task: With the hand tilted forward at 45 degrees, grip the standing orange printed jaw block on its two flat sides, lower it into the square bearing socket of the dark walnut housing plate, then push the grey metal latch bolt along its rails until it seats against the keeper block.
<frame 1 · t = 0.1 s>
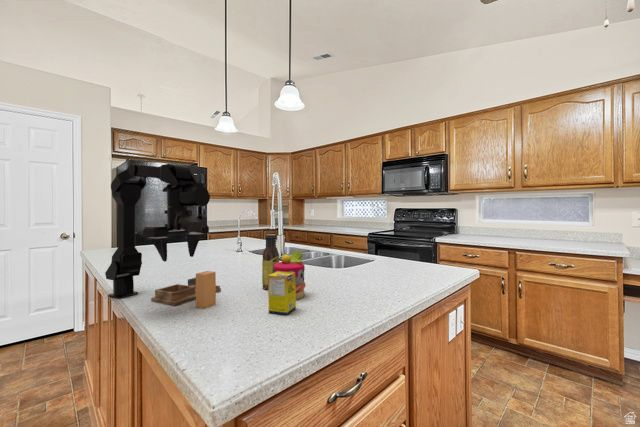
hand: (178, 258, 91), 15 cm above the worktop, tool pointing down, fingers open, 9 cm apart
housing: (175, 299, 99), on the worktop
sauce bottle: (270, 288, 112), on the worktop
latch bolt: (209, 284, 107), point 3 cm above the worktop, slide at 0.0 cm
jaw block: (206, 305, 93), on the worktop
cake: (289, 297, 102), on the worktop
supplement box: (282, 311, 87), on the worktop
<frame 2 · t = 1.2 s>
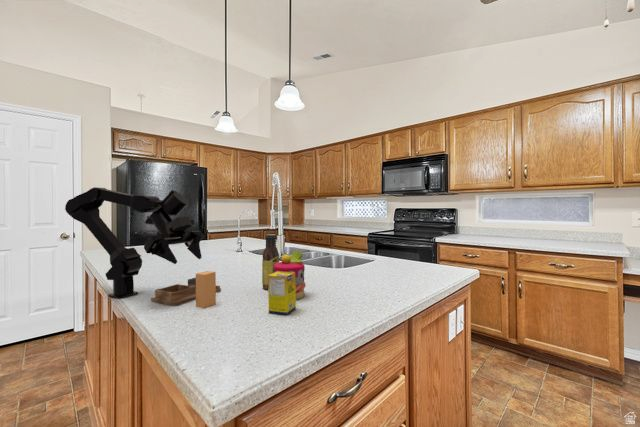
hand: (188, 260, 96), 13 cm above the worktop, tool tilted 45°, fingers open, 9 cm apart
nothing on the worktop moved.
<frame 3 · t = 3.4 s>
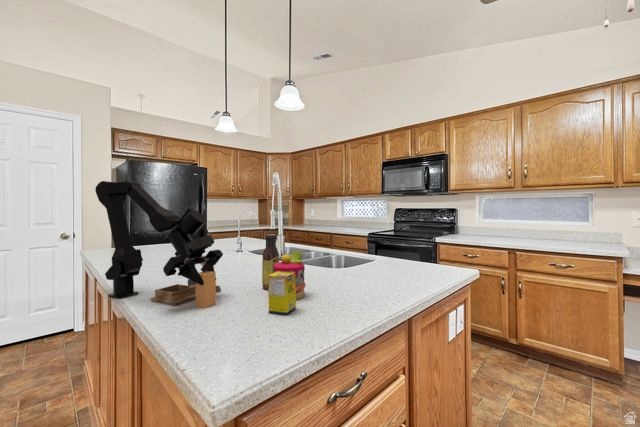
hand: (209, 282, 92), 7 cm above the worktop, tool tilted 45°, fingers closed on jaw block, 4 cm apart
jaw block: (206, 305, 93), on the worktop, touching gripper
everything else where it was.
when the fingers open (10 cm above the worktop, at t = 7.3 s): jaw block drops 1 cm, resting on housing.
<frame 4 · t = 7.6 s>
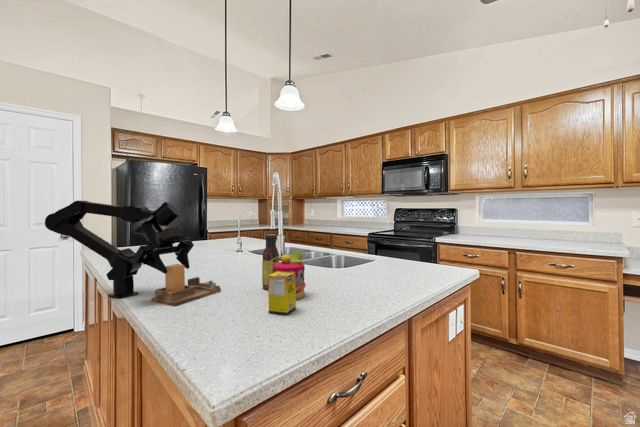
hand: (177, 270, 98), 10 cm above the worktop, tool tilted 45°, fingers open, 8 cm apart
jaw block: (175, 296, 99), point 1 cm above the worktop, touching housing
everything else where it was.
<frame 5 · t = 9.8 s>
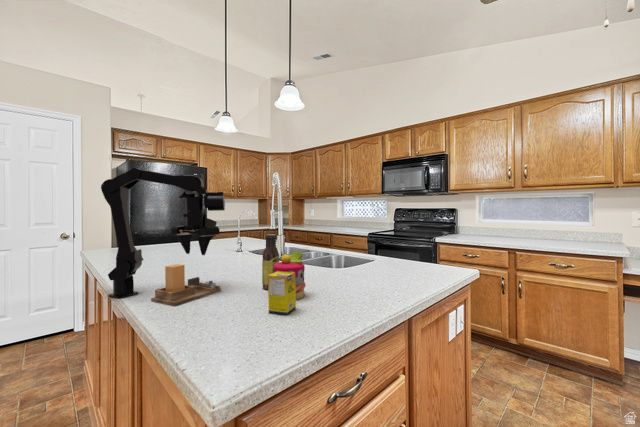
hand: (195, 254, 109), 13 cm above the worktop, tool pointing down, fingers open, 8 cm apart
nothing on the worktop moved.
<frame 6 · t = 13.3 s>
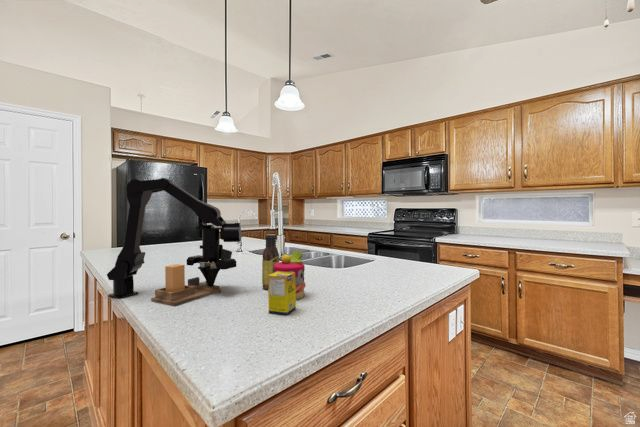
hand: (211, 286, 107), 2 cm above the worktop, tool pointing down, fingers closed
latch bolt: (205, 284, 108), point 3 cm above the worktop, slide at 1.6 cm, touching gripper
everything else where it was.
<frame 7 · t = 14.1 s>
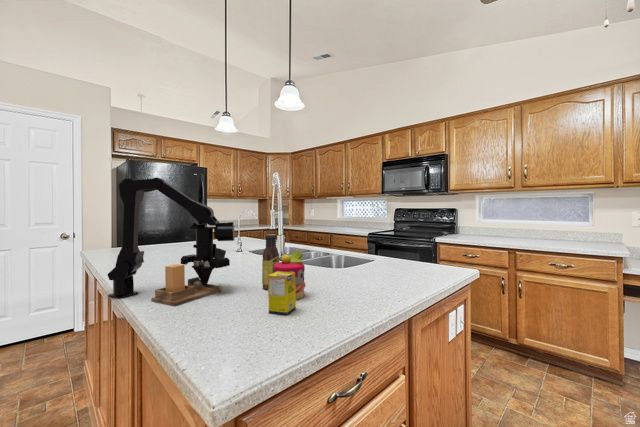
hand: (205, 284, 108), 2 cm above the worktop, tool pointing down, fingers closed
latch bolt: (199, 283, 110), point 3 cm above the worktop, slide at 4.7 cm, touching gripper
everything else where it was.
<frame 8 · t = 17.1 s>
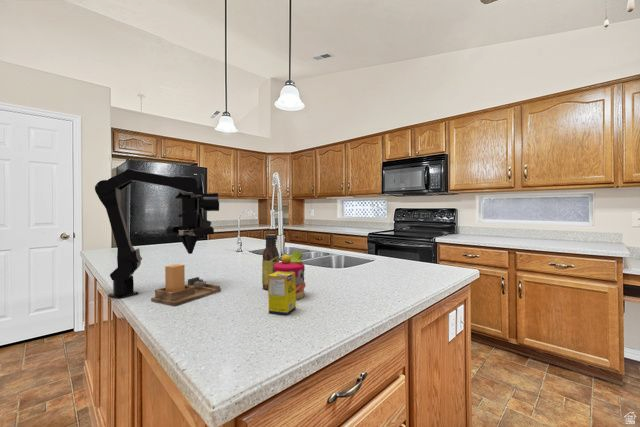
hand: (190, 253, 111), 13 cm above the worktop, tool pointing down, fingers closed
latch bolt: (199, 283, 110), point 3 cm above the worktop, slide at 4.7 cm
everything else where it was.
at the end: jaw block 0.1 cm off-centre on the housing, point 1.0 cm above the housing's base; jaw block tilted 0°; latch bolt slide at 4.7 cm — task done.
